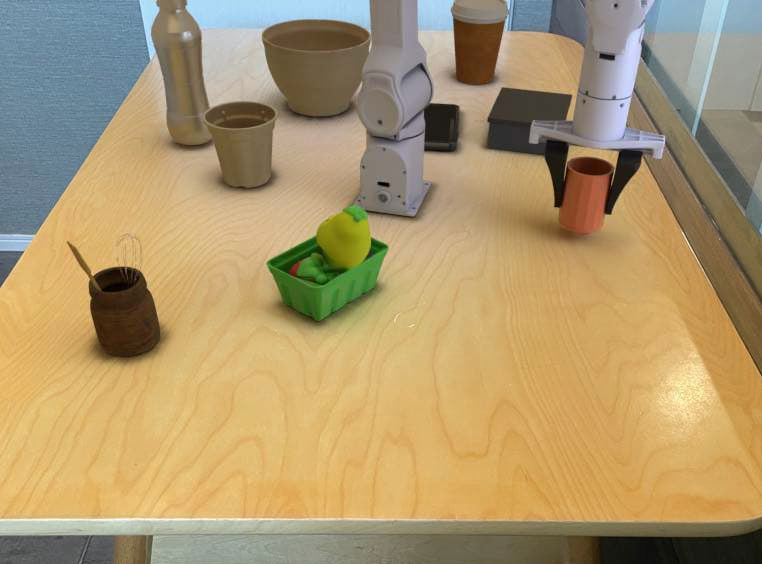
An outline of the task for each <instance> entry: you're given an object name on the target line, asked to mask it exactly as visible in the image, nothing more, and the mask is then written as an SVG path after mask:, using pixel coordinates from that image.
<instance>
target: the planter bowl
mask: <svg viewBox="0 0 762 564" xmlns="http://www.w3.org/2000/svg"><path fill="white" fill-rule="evenodd" d="M261 41H262V44H263V47H264V56H265V60H266V64H267V68H268V71H269V73H270V75H271V78H272V80H273V82H274V84H275V85H276V87H277V89H278V90H279V92H280V93H281V94H282V95H283V97H284V98H285V99H286V102H287V106H288V108H289V109H290V110H291V111H293V112H294V113H296V114H299V115H303V116H308V117H331V116H336V115H339V114H341V113H344V112H346V111H347V110H348V109H349V107H350V103H351V99H352V98H353V96H354V95H355V94H356V92H357V91H358V89H359V87H360V85H362V69H363V67H364V64H365V62H366V59H367V57H368V54H369V52H370V47H371V46H370V45H371V43H372V41H371V31H369V30H368V29H367V28H365V27H363V26H361V25H359V24H356V23H352V22H348V21H344V20H337V19H327V18H326V19H323V18H305V19H303V18H302V19H293V20H287V21H281V22H278V23H275V24H272V25H270V26H268V27H266V28H265V29H264V30H262V33H261Z"/></svg>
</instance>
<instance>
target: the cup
mask: <svg viewBox="0 0 762 564" xmlns="http://www.w3.org/2000/svg"><path fill="white" fill-rule="evenodd" d="M614 174H615V166H614V165H613V164H612V163H611V162H610V161H608V160H606V159H603V158H599V157H595V156H576V157H573V158H570V159H569V160H568V161H567V162H566V167H565V174H564V184H563V190H562V198H561V204H560V208H558V215H557V223H558V224H559V225H560V226H561V227H562V228H563V229H565V230H568V231H569V232H573V233H579V234H590V233H596V232H598V231H600V230H601V229H602V228H603V226H604V223H605V217H606V214H605V211H606V207H607V203H608V198H609V194H610V189H611V185H612V182H613V178H614Z"/></svg>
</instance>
